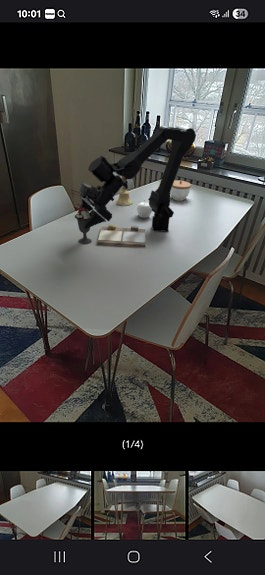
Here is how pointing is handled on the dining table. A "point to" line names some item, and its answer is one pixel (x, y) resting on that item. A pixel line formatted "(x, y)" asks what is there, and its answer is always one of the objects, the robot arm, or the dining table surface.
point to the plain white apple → (144, 209)
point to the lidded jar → (180, 190)
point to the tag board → (122, 236)
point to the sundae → (83, 223)
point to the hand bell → (124, 197)
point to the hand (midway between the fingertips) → (80, 223)
